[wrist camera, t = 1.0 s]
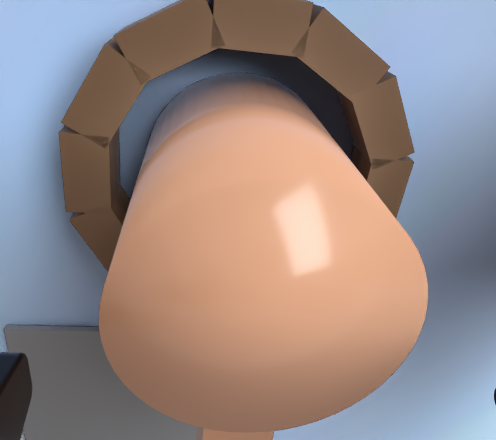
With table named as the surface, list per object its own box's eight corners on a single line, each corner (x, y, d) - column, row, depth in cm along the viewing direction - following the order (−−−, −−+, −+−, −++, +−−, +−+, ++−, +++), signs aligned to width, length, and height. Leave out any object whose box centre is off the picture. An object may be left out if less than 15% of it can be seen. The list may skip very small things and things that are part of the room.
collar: (429, 15, 15) (459, 21, 13) (349, 291, 21) (362, 321, 19) (64, -33, 13) (43, -33, 12) (86, 281, 19) (75, 312, 17)
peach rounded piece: (148, 62, 15) (89, 164, 7) (341, 82, 16) (477, 193, 8) (145, 326, 21) (111, 543, 13) (288, 329, 21) (337, 534, 14)
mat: (290, 331, 22) (291, 336, 21) (264, 446, 26) (265, 451, 26) (6, 324, 20) (3, 329, 19) (30, 449, 24) (28, 454, 24)
